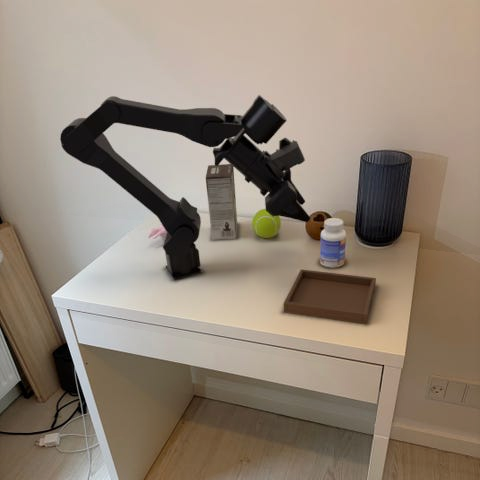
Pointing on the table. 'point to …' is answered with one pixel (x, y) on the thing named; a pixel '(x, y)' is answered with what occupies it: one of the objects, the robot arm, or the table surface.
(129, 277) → the table surface
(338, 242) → the pill bottle
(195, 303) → the table surface
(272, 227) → the tennis ball
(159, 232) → the rabbit figure
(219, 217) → the coffee box
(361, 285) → the tray
